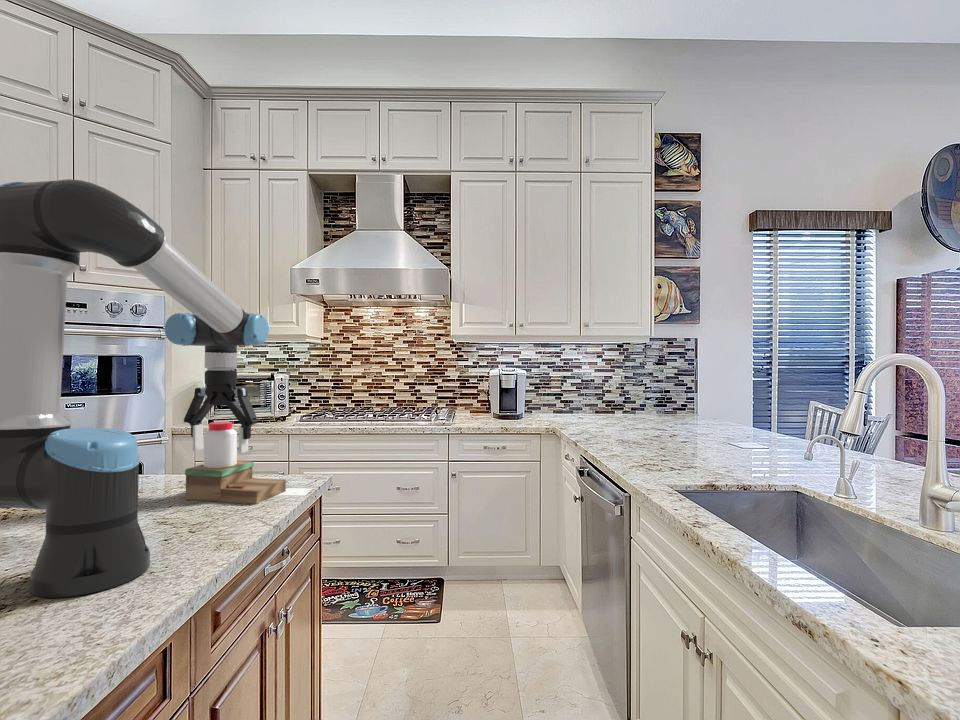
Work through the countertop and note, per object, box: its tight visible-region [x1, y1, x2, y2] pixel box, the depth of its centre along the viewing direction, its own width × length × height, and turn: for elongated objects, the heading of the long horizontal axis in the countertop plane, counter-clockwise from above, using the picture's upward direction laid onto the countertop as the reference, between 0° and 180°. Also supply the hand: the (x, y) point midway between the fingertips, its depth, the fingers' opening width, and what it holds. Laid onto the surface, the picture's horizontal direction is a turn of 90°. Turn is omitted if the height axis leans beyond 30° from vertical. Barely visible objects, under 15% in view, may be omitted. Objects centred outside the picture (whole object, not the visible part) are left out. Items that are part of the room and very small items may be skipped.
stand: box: [184, 460, 287, 505], centre depth 127 cm, size 12×20×8 cm, turn 79°
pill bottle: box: [202, 421, 238, 468], centre depth 128 cm, size 8×8×11 cm
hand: (220, 450), depth 128 cm, fingers open, 13 cm apart
